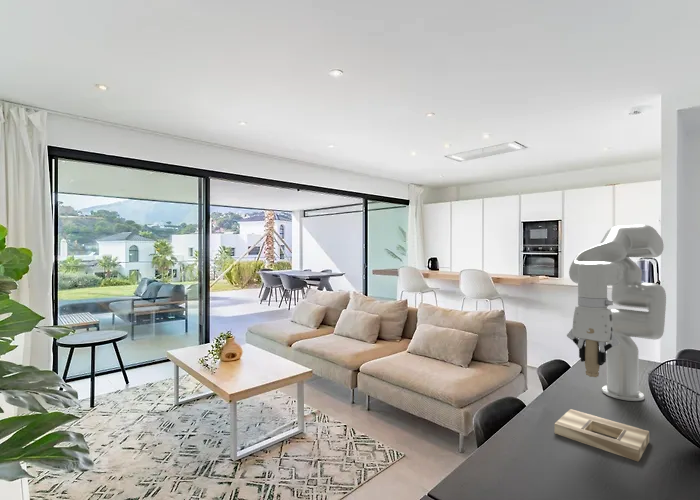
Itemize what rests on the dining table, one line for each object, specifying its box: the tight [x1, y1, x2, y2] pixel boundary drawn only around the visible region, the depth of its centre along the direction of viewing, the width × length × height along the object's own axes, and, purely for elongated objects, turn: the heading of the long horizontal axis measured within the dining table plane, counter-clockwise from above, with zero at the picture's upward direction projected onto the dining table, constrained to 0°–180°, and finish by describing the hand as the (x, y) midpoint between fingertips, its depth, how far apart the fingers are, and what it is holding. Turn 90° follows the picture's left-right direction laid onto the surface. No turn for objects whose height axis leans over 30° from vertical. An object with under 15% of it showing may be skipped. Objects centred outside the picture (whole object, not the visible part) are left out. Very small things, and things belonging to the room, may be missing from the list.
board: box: [554, 408, 650, 462], centre depth 108 cm, size 14×20×3 cm
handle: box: [584, 328, 601, 378], centre depth 114 cm, size 5×6×15 cm
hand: (592, 361), depth 114 cm, fingers closed on handle, 4 cm apart
